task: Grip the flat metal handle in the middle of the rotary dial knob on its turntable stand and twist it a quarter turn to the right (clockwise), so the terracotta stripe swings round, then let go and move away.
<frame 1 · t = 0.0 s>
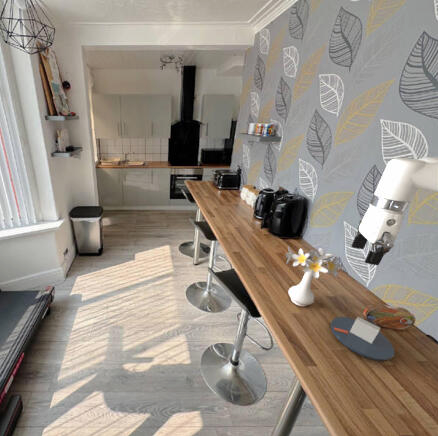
hand: (363, 255, 73), 33 cm above the table, tool pointing down, fingers open, 9 cm apart
stand: (357, 341, 82), on the table
tin: (382, 324, 90), on the table
flower vase: (296, 301, 100), on the table
rotary dial knob: (364, 330, 80), point 5 cm above the table, hinge at 0.0°
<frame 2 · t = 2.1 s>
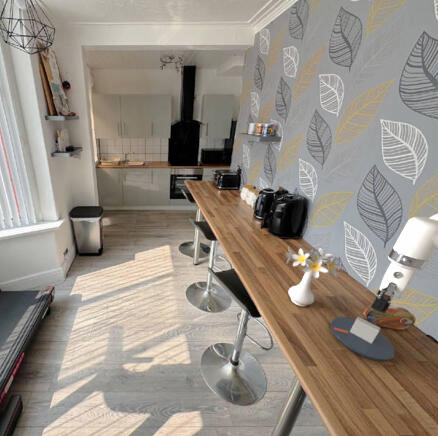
hand: (380, 303, 75), 17 cm above the table, tool pointing down, fingers open, 9 cm apart
nothing on the table moved.
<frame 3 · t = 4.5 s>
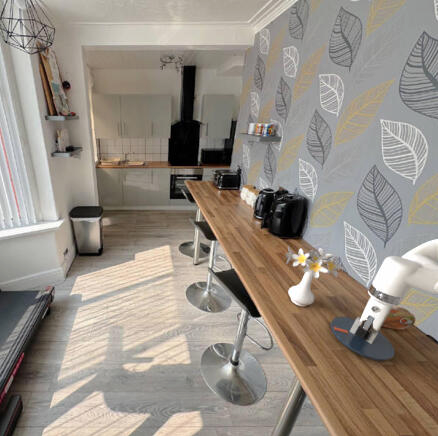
hand: (361, 334, 81), 3 cm above the table, tool pointing down, fingers closed on rotary dial knob, 2 cm apart
rotary dial knob: (364, 330, 80), point 5 cm above the table, hinge at -2.0°, touching gripper
everything else where it was.
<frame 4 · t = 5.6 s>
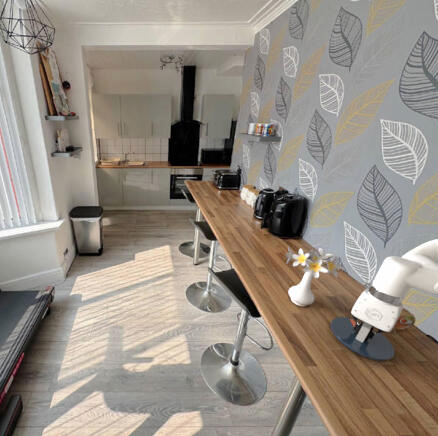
hand: (361, 335, 81), 3 cm above the table, tool pointing down, fingers closed
rotary dial knob: (364, 330, 80), point 5 cm above the table, hinge at -89.9°
everything else where it was.
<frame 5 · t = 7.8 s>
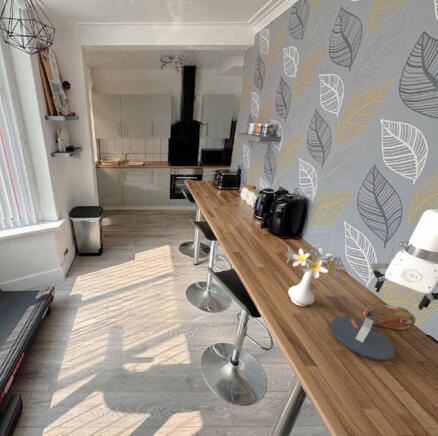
hand: (397, 298, 74), 20 cm above the table, tool pointing down, fingers open, 9 cm apart
nothing on the table moved.
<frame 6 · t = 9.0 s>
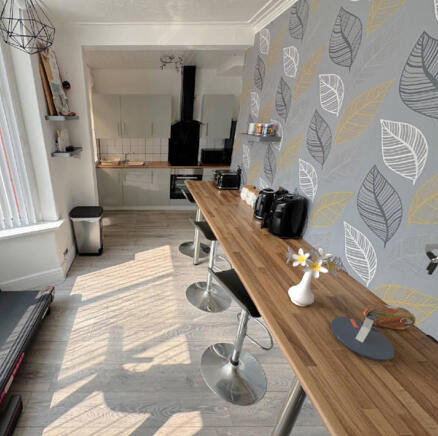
nothing on the table moved.
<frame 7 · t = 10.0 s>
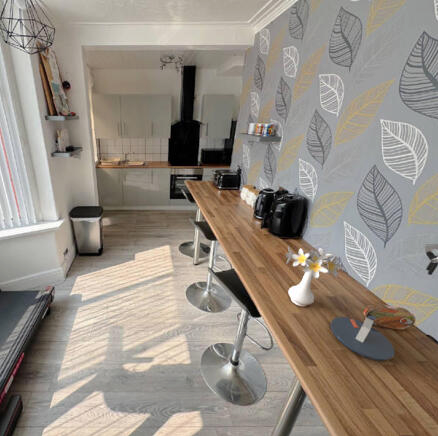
nothing on the table moved.
at the end: rotary dial knob at -90° (first picture: +0°); the gripper is holding nothing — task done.
